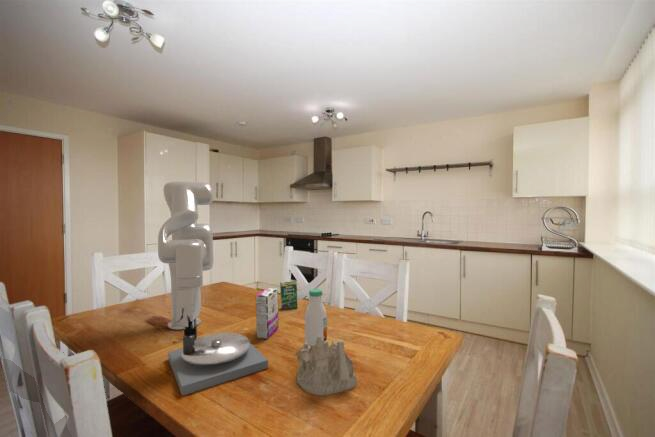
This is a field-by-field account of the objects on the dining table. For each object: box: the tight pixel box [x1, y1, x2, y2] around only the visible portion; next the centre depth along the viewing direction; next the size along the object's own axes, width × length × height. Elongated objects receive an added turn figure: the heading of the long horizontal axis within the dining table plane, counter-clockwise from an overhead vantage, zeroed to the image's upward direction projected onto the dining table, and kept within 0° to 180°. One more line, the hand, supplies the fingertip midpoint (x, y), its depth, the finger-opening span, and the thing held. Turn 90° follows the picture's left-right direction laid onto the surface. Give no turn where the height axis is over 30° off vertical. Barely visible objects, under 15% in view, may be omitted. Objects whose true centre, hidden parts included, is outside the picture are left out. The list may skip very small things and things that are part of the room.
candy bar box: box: [255, 287, 279, 340], centre depth 119 cm, size 11×5×16 cm, turn 168°
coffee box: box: [279, 280, 298, 311], centre depth 150 cm, size 8×3×13 cm, turn 103°
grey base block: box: [167, 341, 269, 397], centre depth 96 cm, size 24×24×4 cm
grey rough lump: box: [296, 335, 357, 396], centre depth 87 cm, size 16×16×15 cm
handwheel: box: [181, 332, 250, 366], centre depth 96 cm, size 20×20×7 cm
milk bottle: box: [304, 288, 328, 347], centre depth 107 cm, size 8×8×20 cm
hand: (190, 340), depth 95 cm, fingers closed
